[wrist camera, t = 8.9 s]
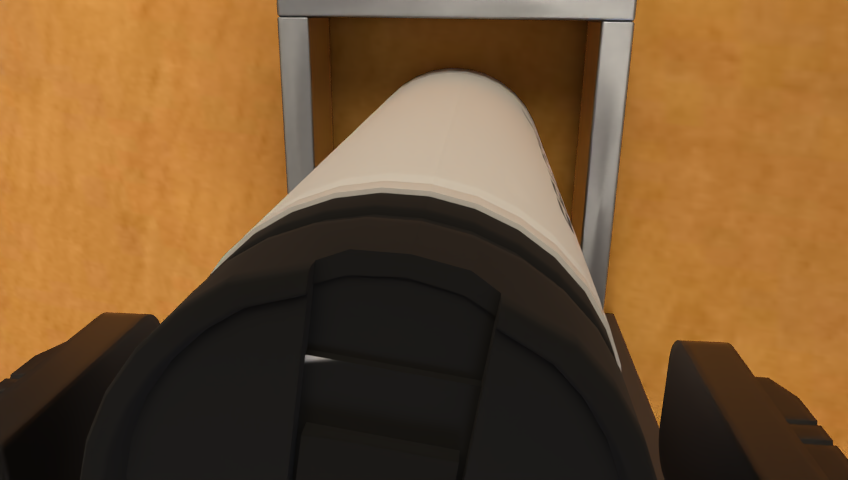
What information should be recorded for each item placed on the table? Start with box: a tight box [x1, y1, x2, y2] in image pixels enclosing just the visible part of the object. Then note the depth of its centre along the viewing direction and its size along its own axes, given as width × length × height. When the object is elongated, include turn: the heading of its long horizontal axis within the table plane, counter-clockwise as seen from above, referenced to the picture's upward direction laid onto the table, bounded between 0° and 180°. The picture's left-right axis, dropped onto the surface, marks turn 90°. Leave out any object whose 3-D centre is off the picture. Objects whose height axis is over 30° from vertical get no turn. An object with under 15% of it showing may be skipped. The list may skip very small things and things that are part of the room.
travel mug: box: [80, 68, 657, 480], centre depth 16 cm, size 6×7×20 cm
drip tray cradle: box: [277, 0, 637, 312], centre depth 18 cm, size 12×11×16 cm
